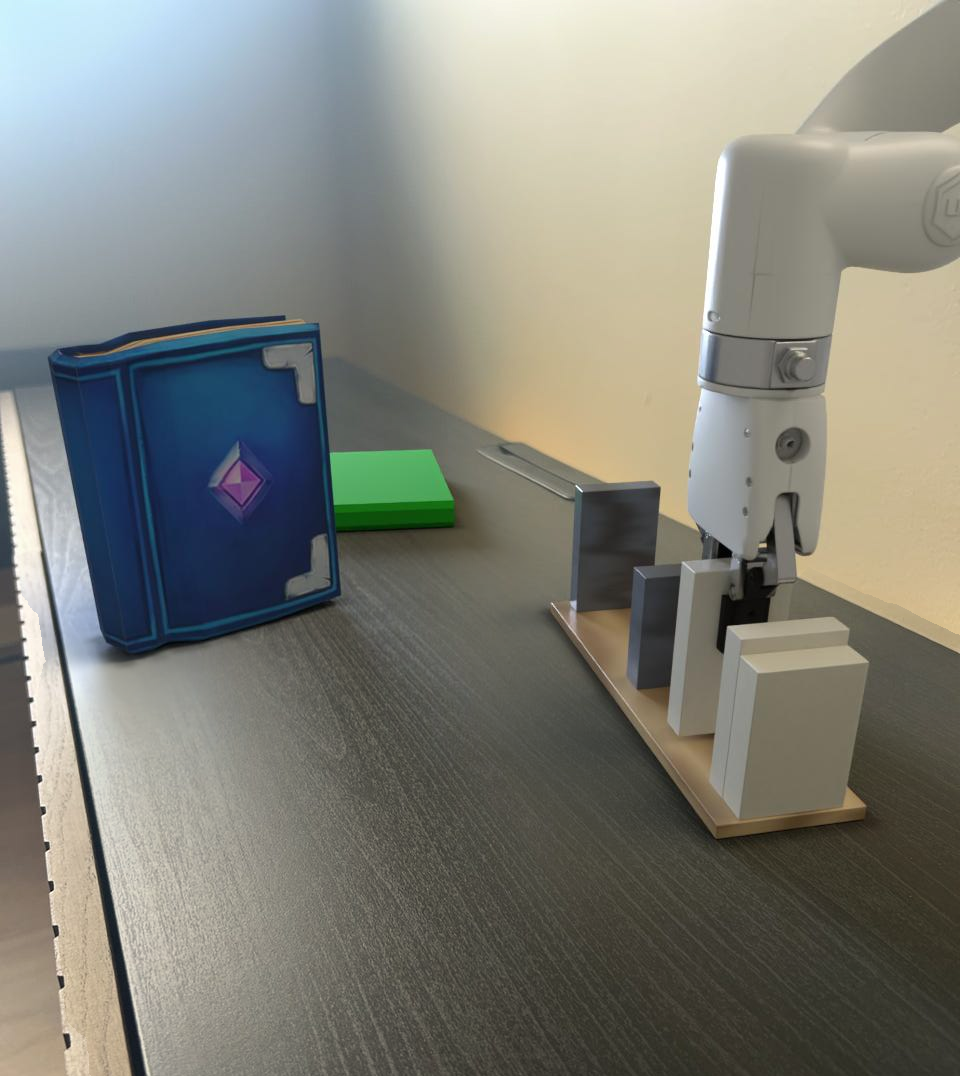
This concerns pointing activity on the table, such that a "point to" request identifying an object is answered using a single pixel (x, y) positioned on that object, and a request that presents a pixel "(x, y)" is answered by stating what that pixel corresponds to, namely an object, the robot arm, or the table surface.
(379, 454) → the green flat slab
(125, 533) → the book
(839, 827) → the table surface
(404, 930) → the table surface
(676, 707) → the white book
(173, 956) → the table surface
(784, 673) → the white books
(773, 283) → the robot arm
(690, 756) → the book rack
